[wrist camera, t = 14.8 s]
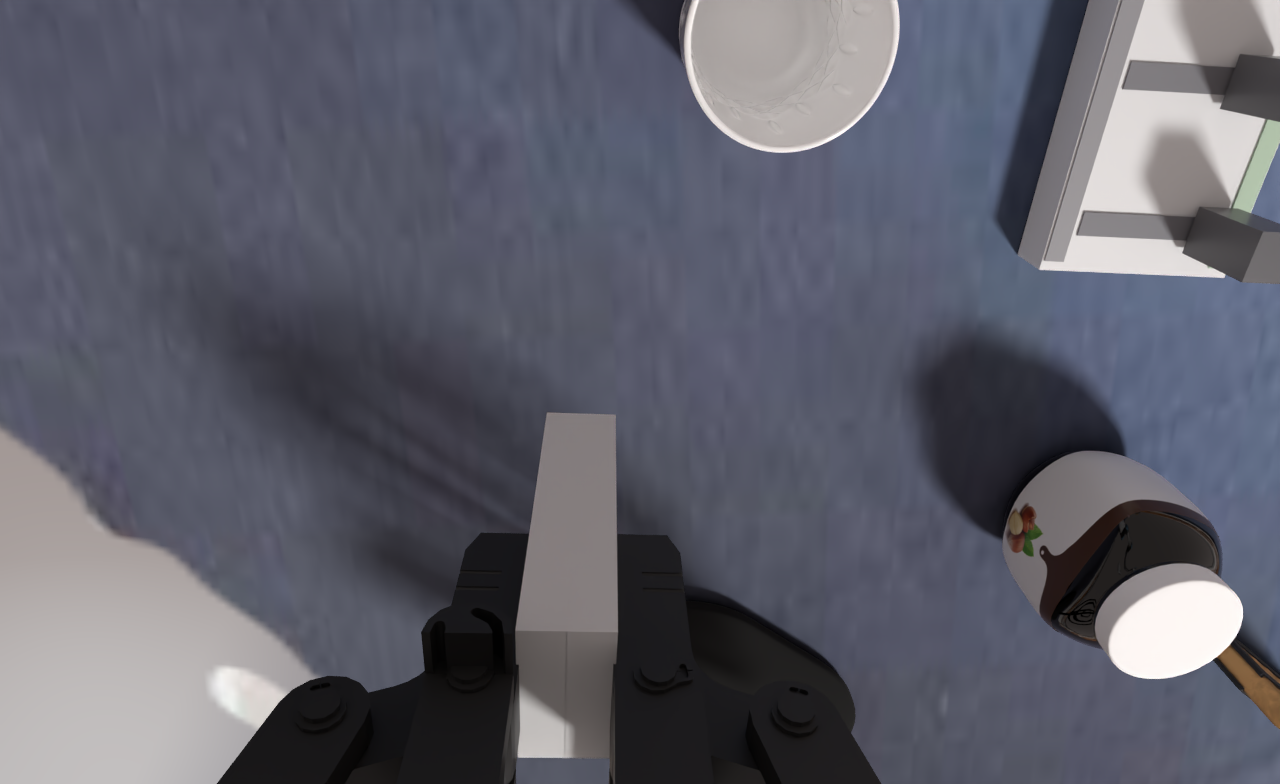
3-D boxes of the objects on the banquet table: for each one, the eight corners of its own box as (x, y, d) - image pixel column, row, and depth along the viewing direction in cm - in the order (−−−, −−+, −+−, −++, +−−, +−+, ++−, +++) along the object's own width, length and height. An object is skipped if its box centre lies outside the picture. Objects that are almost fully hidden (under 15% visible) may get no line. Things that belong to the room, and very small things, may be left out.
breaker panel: (1135, -165, 35) (1172, -175, 33) (1352, -149, 36) (1403, -158, 33) (1017, 254, 44) (1039, 270, 41) (1193, 262, 44) (1225, 278, 42)
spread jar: (1052, 420, 49) (1171, 539, 39) (1206, 466, 51) (1358, 591, 40) (957, 568, 54) (1039, 709, 44) (1100, 605, 56) (1211, 748, 46)
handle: (1199, 206, 40) (1263, 231, 36) (1237, 208, 40) (1305, 233, 36) (1181, 252, 41) (1242, 282, 37) (1219, 254, 41) (1283, 284, 37)
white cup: (684, -85, 36) (708, -105, 27) (852, -51, 37) (929, -59, 28) (653, 98, 39) (666, 134, 31) (807, 125, 40) (863, 168, 31)
